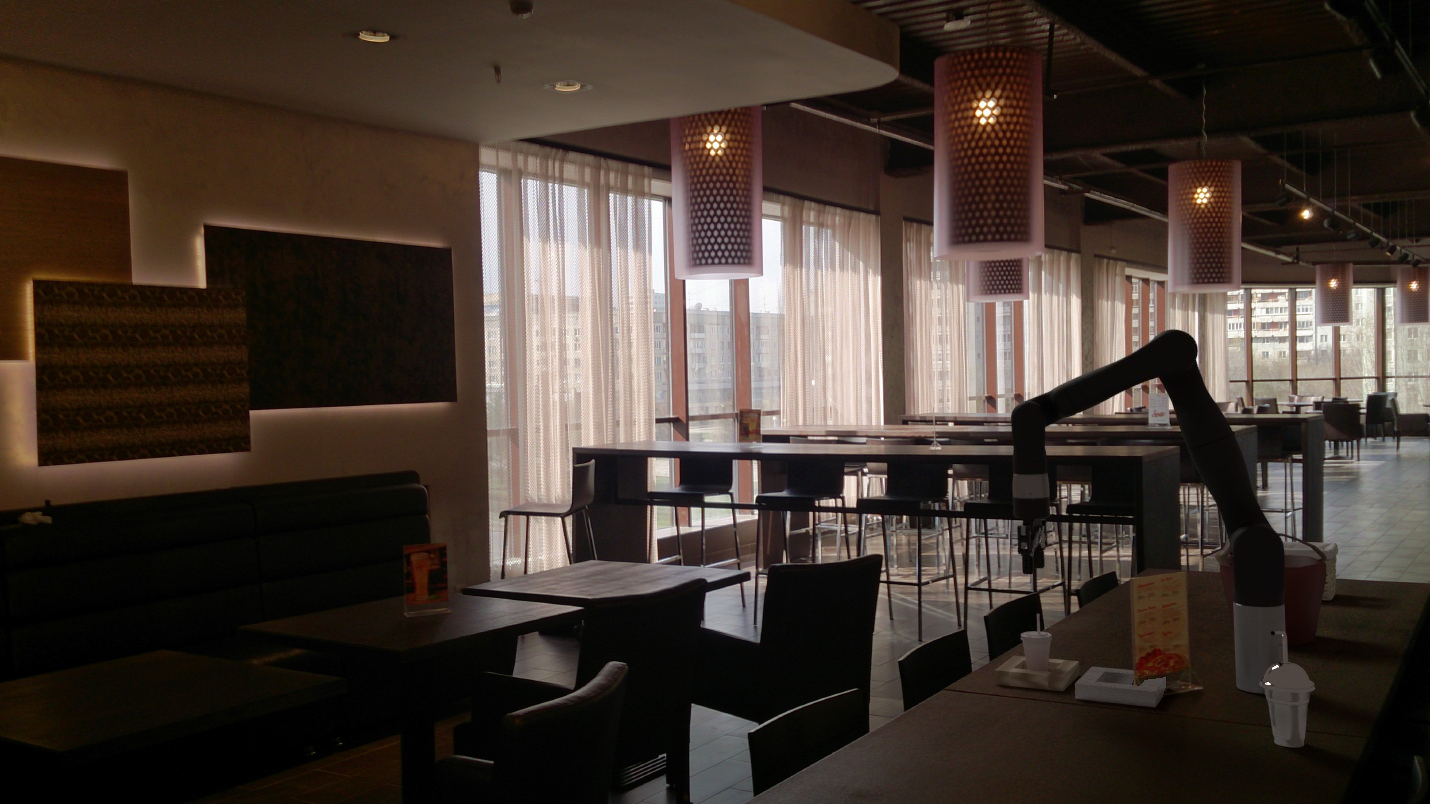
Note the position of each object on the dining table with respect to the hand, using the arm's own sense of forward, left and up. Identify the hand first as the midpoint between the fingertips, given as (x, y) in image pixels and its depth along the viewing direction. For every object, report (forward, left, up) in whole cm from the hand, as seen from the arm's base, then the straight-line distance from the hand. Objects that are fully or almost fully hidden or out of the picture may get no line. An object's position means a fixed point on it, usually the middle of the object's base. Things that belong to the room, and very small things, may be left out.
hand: (1033, 571), depth 234 cm
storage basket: (-40, -118, -24) cm, 127 cm away
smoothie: (0, 0, -23) cm, 23 cm away
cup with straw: (-49, +25, -23) cm, 60 cm away
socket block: (0, 0, -23) cm, 23 cm away
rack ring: (-18, +4, -23) cm, 30 cm away
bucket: (-40, -60, -23) cm, 76 cm away
